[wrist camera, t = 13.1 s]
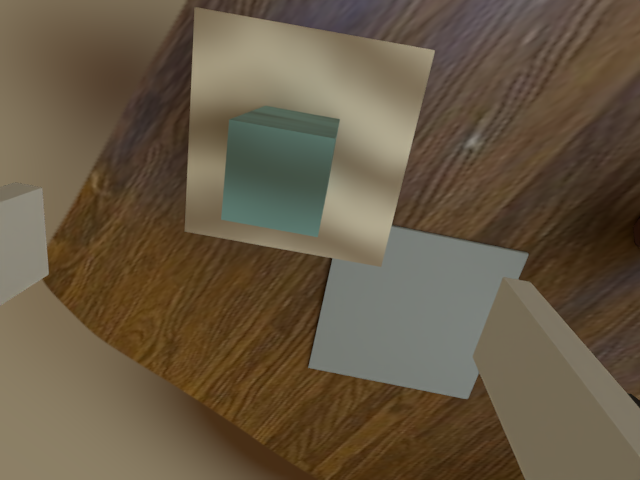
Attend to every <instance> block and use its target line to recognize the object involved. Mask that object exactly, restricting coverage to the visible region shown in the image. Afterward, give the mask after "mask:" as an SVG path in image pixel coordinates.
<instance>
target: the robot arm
mask: <svg viewBox="0 0 640 480" xmlns="http://www.w3.org/2000/svg"><path fill="white" fill-rule="evenodd" d="M47 275H49V271H48V258H47V244H46V231H45V218H44V205H43V192H42V187H37V186H32V185H26V184H22V183H16V182H15V183H12V184H8V185H5V186H2V187H0V305H2V304H4V303H5V302H7V301H8V300H10V299H11V298H13V297H14V296H16V295H18V294H19V293H21V292H22V291H24V290H25V289H27V288H28V287H30V286H31V285H33V284H35V283H36V282H38V281H39V280H41V279H42V278H44V277H45V276H47ZM473 359H474V362H475V364H476V366H477V369H478V371H479V373H480V376H481V378H482V380H483V382H484V385H485V387H486V389H487V392H488V394H489V396H490V399H491V401H492V403H493V406H494V408H495V410H496V413H497V415H498V417H499V420H500V422H501V424H502V427H503V429H504V431H505V434H506V436H507V438H508V441H509V443H510V445H511V448H512V450H513V452H514V455H515V457H516V459H517V462H518V464H519V466H520V469H521V471H522V473H523V476H524V478H525V480H640V400H638V399H637V398H636V397H634V396H633V395H632V394H628V393H626V392H625V391H624V389H623V388H622V387H621V386H620V385H619V384H618V383H617V381H616V380H615V379H614V378H613V377H612V376H611V374H610V373H609V372H608V371H607V370H606V369H605V368H604V366H603V365H602V364H601V363H600V362H599V361H598V360H597V358H596V357H595V356H594V355H593V354H592V353H591V351H590V350H589V349H588V348H587V347H586V346H585V345H584V343H583V342H582V341H581V340H580V339H579V338H578V336H577V335H576V334H575V333H574V332H573V331H572V330H571V328H570V327H569V326H568V325H567V324H566V323H565V322H564V320H563V319H562V318H561V317H560V316H559V315H558V313H557V312H556V311H555V310H554V309H553V308H552V307H551V305H550V304H549V303H548V302H547V301H546V300H545V299H544V297H543V296H542V295H541V294H540V293H539V292H538V290H537V289H536V288H535V287H534V286H533V285H532V284H531V282H527V281H522V280H517V279H512V278H506V277H503V279H502V281H501V284H500V287H499V289H498V292H497V294H496V297H495V300H494V302H493V305H492V307H491V310H490V312H489V315H488V318H487V320H486V323H485V325H484V328H483V331H482V333H481V336H480V338H479V341H478V344H477V346H476V349H475V351H474V354H473Z"/></svg>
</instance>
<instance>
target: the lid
mask: <svg viewBox="0 0 640 480" xmlns="http://www.w3.org/2000/svg"><path fill="white" fill-rule="evenodd" d="M434 53H435V50H430V49H424V48H419V47H413V46H408V45H402V44H396V43H391V42H385V41H380V40H374V39H369V38H363V37H358V36H352V35H347V34H341V33H335V32H330V31H324V30H319V29H313V28H308V27H302V26H297V25H291V24H286V23H280V22H274V21H269V20H263V19H258V18H252V17H247V16H241V15H236V14H230V13H224V12H219V11H213V10H208V9H202V8H197V7H195V11H194V33H193V56H192V78H191V101H190V123H189V145H188V168H187V190H186V213H185V232H191V233H196V234H202V235H207V236H213V237H218V238H224V239H229V240H235V241H240V242H246V243H251V244H257V245H262V246H268V247H273V248H279V249H284V250H290V251H296V252H301V253H307V254H312V255H318V256H323V257H329V258H334V259H340V260H345V261H351V262H356V263H362V264H367V265H373V266H378V267H381V266H382V262H383V258H384V254H385V250H386V246H387V242H388V238H389V234H390V230H391V226H392V222H393V218H394V214H395V210H396V205H397V201H398V197H399V193H400V189H401V185H402V181H403V177H404V173H405V169H406V165H407V161H408V157H409V153H410V149H411V145H412V141H413V137H414V133H415V129H416V125H417V121H418V117H419V113H420V109H421V105H422V101H423V97H424V93H425V89H426V85H427V81H428V77H429V73H430V69H431V65H432V61H433V57H434Z"/></svg>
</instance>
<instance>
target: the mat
mask: <svg viewBox="0 0 640 480" xmlns="http://www.w3.org/2000/svg"><path fill="white" fill-rule="evenodd" d="M528 255H529V254H528V253H527V252H523V251H518V250H513V249H508V248H503V247H498V246H493V245H488V244H483V243H478V242H473V241H468V240H463V239H458V238H453V237H448V236H443V235H438V234H434V233H429V232H424V231H419V230H414V229H409V228H404V227H399V226H394V225H392V226H391V230H390V234H389V238H388V242H387V246H386V250H385V254H384V258H383V262H382V266H381V267H378V266H373V265H367V264H362V263H356V262H351V261H345V260H340V259H334V258H332V263H331V267H330V272H329V276H328V281H327V285H326V290H325V294H324V299H323V303H322V308H321V312H320V317H319V321H318V326H317V330H316V335H315V339H314V344H313V348H312V353H311V357H310V362H309V367H308V368H313V369H318V370H323V371H328V372H333V373H338V374H343V375H348V376H353V377H358V378H363V379H368V380H373V381H378V382H383V383H388V384H393V385H398V386H403V387H408V388H413V389H418V390H423V391H428V392H433V393H438V394H443V395H448V396H453V397H459V398H464V399H468V397H469V395H470V393H471V390H472V388H473V386H474V383H475V381H476V378H477V376H478V374H479V371H478V369H477V366H476V364H475V362H474V359H473V354H474V351H475V349H476V346H477V344H478V341H479V338H480V336H481V333H482V331H483V328H484V325H485V323H486V320H487V318H488V315H489V312H490V310H491V307H492V305H493V302H494V300H495V297H496V294H497V292H498V289H499V287H500V284H501V281H502V279H503V277H506V278H512V279H517V280H518V279H519V276H520V274H521V271H522V269H523V267H524V264H525V262H526V260H527V257H528Z"/></svg>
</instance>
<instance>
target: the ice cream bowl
mask: <svg viewBox="0 0 640 480" xmlns="http://www.w3.org/2000/svg"><path fill="white" fill-rule="evenodd" d="M633 229H634V238H635V244H636V245H637V246H639V247H640V217H639V219H638V221H637V222H636V224H635V226H634V227H633Z"/></svg>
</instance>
